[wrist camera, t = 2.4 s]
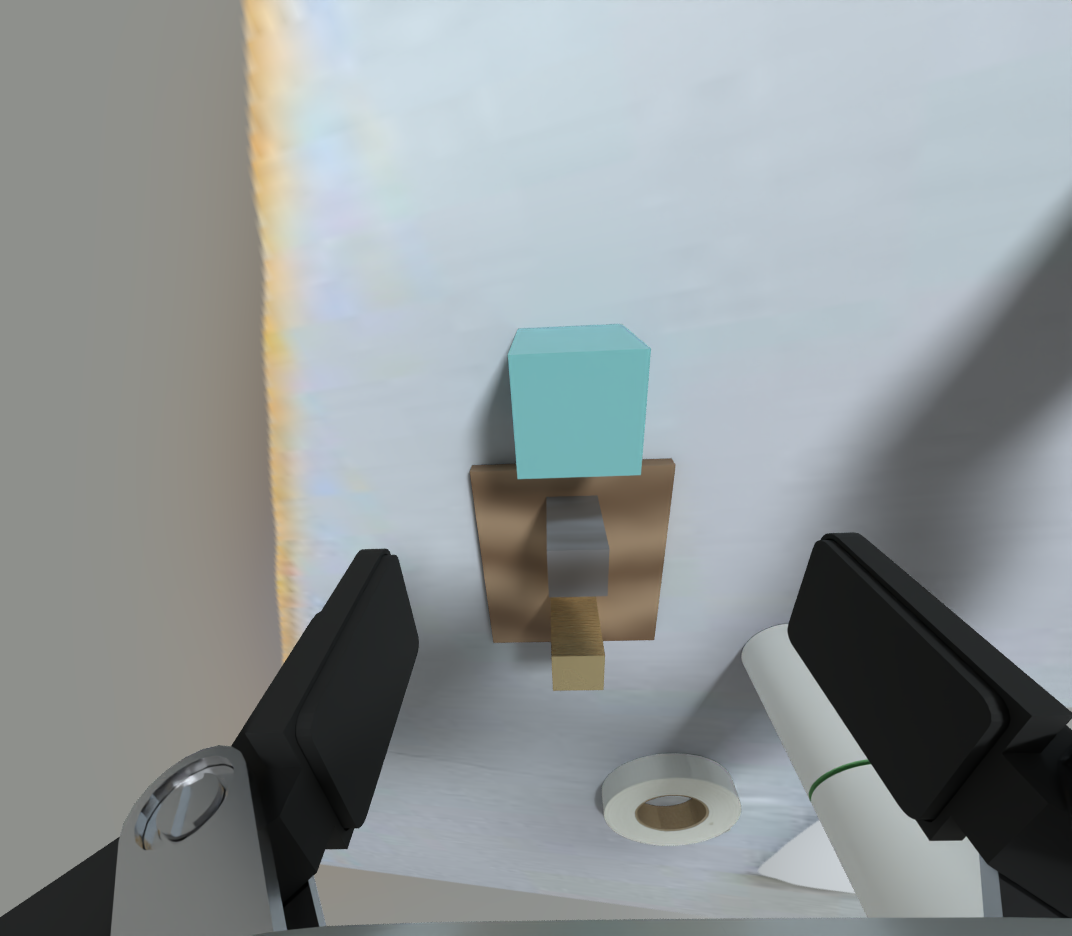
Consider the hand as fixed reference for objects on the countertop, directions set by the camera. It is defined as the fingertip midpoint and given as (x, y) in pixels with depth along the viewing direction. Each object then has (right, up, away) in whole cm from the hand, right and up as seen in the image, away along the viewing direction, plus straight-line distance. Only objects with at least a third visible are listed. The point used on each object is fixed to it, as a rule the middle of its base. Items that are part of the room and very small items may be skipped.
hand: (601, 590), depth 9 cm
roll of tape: (+14, -35, +39) cm, 55 cm away
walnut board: (+1, -4, +23) cm, 23 cm away
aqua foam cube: (+1, +9, +16) cm, 19 cm away
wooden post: (+2, -8, +25) cm, 26 cm away
